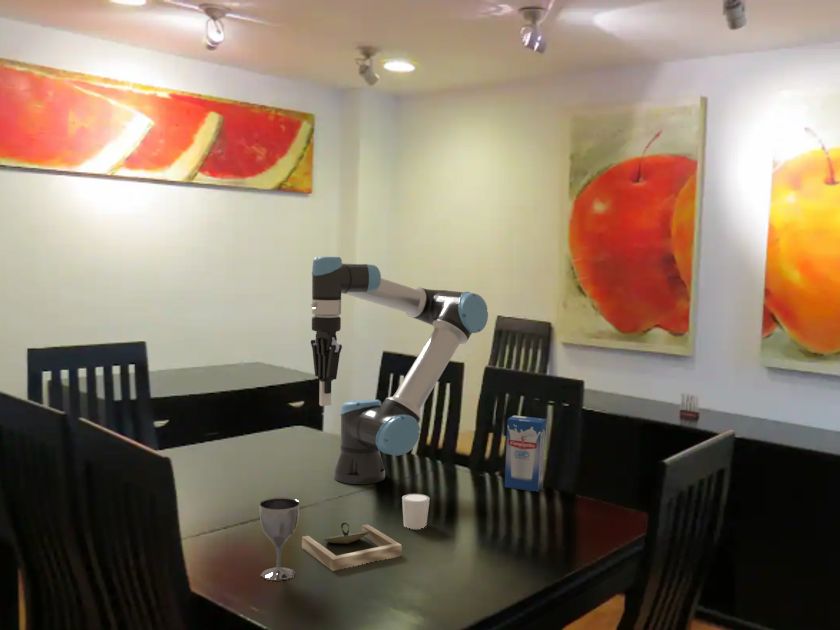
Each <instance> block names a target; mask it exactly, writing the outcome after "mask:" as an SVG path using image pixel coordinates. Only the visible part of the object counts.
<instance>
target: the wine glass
mask: <svg viewBox="0 0 840 630" xmlns="http://www.w3.org/2000/svg"><path fill="white" fill-rule="evenodd" d="M299 517H300V502H299V500H298V499H296V498H292V497H288V496H287V497H284V496H278V497H270V498H269V497H268V498H266V499H263V500H262V501H260V502H259V519H260V525H261V529H262V531H263V533H264V535H265V536H266V537H267V538H268V539H269V540H270V541H271V543H272V544H273V546H274V548H275V554H276V555H275V556H276V565H275V566H276V567H271V568H267V569H265V570H263V571H262V572H261V573H262V574H261V573H260V577H261V576H262V577H263V578H265V579H267V580H281V579H286V578H287V579H288V578H292V577H293V578H295V577H294V575H295V573H296V571H295V570H294V569H293V568H288V567H281V559H282V557H281V556H282V550H283V547H284V545H285V543H286V542H287V541H288V539H289V538H290V537H291V536H292V535H293V534H294V532H295V531H296V529H297V525H298V523H299ZM295 576H296V575H295ZM263 578H262V579H263ZM293 578H292V579H293ZM267 580H266V581H267Z"/></svg>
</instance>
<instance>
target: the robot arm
mask: <svg viewBox="0 0 840 630" xmlns="http://www.w3.org/2000/svg"><path fill="white" fill-rule="evenodd" d="M342 261H343V260H342V258H341V257H340V256H316V257H314V259H312V271H311V277H312V280H311V283H312V284H311V285H312V286H311V291H312V292H311V293H312V294H311V297H312V300H311V304H310V306H311V314H312V315H314V316H312V317H311V331H313V332H316V333H315V338H314V339H311V340H310V346H311V348H312V358H313V369H314V370H313V371H314V376H315V377H317V379H318V381H319V388H318V389H319V397H318V399H319V402H318V404H319V406H320V407H325V406H326V407H327V406H331V405H332V382H333V381H334V380H337V378H338V377H337V376H338V369H339V362H340V356H341V351H342V349H343V346H342V344H338V342H337V340H338V338H337V332H340V330H341V327H342V326H341V325H342V324H341V323H342V318H341V317H340V316H341V315H342V294H343V295H344V294H345V295H348V296H351V297H355V298H358V299H360V300H364V301H367V302H371V303H373V304H377V305H380V306H383V307H386V308H387V307H388V308H390V309H394V310H397V311H401V312H404V313H405V314H406V316H408V317H410V318H413V319H415V320H418V321H421V322H423V323H425V324H428V325H431V326H433V331H432V333H431V334H430V336H429V337H428V339H427V341H426V342H425V344H424V346H423V347H422V349H421V351H420V353H418V356H417V357H416V359H415V360H414V362H413V364H412V366H411V367H410V368H409V370H408V371H407V374H406V375H405V376H404V378H403V380H402V381H401V383H400V385H399V386H398V388H397V390H396V392H395V393H394V394H393V396H389V397H386V398H385V399H384V401H383V402H382V401H381V400H380V399H357V400H355V399H354V400H348V401H345V402H344V403H342V405H341V411H340V446H339V447H340V451H339V454H338V457H337V459H336V463H335V465H334V469H333V479H334V480H335V481H338V482H341V483H344V484H350V485H370V484H371V483H372V484H377V483H380V482H382V481H384V480H385V478H386V469H385V465H384V463H383V459H382V456H381V453H383V454H386V455H392V456H402V455H405V454H407V453H409V452H410V451H411V450H412V449H413V448H414V447H416V444H418V440H419V438H420V430H421V429H420V425H419V423H420V421H421V419H422V418H421V415H420V411H421V409H422V408H423V405H424V404H425V403H426V401H427V399H428V398H429V396H430V394H431V392H432V391H433V389H434V387H435V386H436V384H437V382H438V381H439V379H440V378H441V376H442V375H443V372H444V371H445V369H446V367H447V366H448V364H449V362H450V360H452V357H453V356H454V354H455V352H456V351H457V349H458V347H459V346H460V345H463V344H467V342H468V340H469V339H470V337H471V335H472V334H477V333H480V332H482V331H483V330H484V328H485V327H486V326H487V323H488V320H489V311H488V305H487V303H486V301H485V299H484V298H483V296H481V295H479V294H477V293H476V292H475V293H474V292H470V291H456V290H455V291H454V290H447V289H442V290H441V289H428V288H423V287H421V286H416V287H411V286H410V287H409V286H407V285H404V284H403V285H402V284H401V283H397V282H394V281H391V280H388V279H385V278H382V275H381V272H380V271H381V270H380V269H379V268H378V267H377V266H376V265H375V264H368V263H364V264H363V263H362V264H361V263H359V264H357V263H343V262H342ZM372 484H371V485H372Z"/></svg>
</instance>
